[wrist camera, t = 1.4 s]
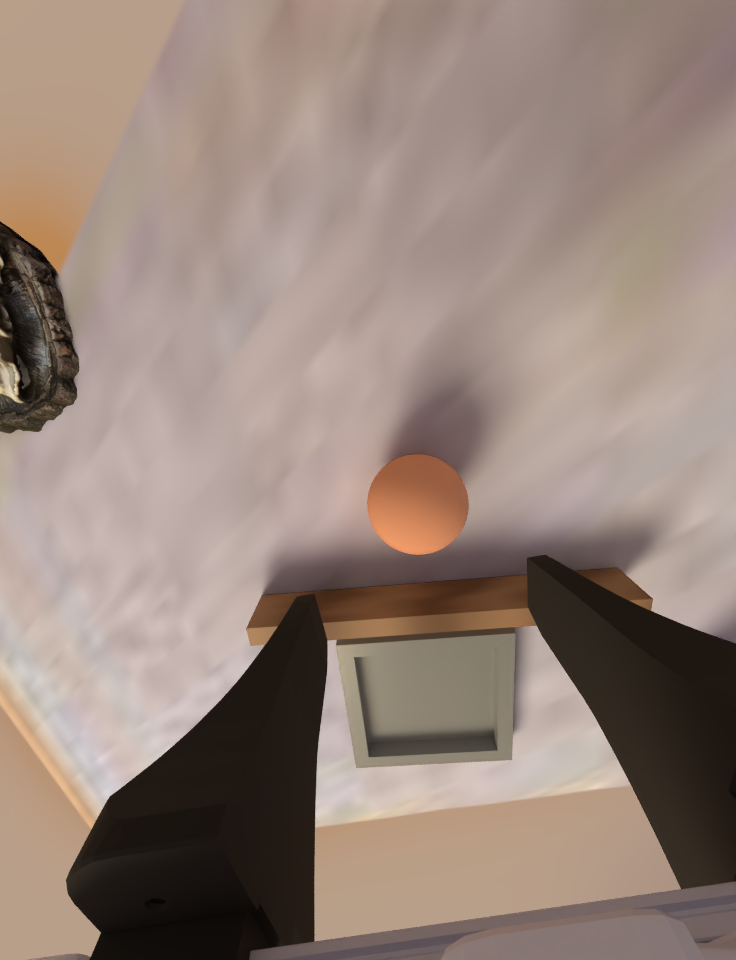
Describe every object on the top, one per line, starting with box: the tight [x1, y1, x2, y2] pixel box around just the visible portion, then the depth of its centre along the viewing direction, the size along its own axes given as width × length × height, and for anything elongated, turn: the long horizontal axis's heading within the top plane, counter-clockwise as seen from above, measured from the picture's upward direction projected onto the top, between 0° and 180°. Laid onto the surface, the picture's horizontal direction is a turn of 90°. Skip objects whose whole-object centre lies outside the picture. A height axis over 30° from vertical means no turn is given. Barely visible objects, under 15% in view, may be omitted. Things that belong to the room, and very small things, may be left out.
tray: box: [336, 627, 516, 768], centre depth 25 cm, size 11×11×1 cm
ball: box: [367, 454, 469, 555], centre depth 18 cm, size 5×5×5 cm
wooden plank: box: [246, 568, 653, 646], centre depth 22 cm, size 22×1×3 cm, turn 96°
